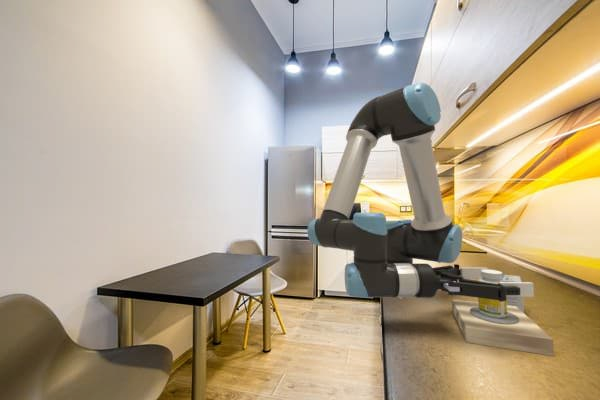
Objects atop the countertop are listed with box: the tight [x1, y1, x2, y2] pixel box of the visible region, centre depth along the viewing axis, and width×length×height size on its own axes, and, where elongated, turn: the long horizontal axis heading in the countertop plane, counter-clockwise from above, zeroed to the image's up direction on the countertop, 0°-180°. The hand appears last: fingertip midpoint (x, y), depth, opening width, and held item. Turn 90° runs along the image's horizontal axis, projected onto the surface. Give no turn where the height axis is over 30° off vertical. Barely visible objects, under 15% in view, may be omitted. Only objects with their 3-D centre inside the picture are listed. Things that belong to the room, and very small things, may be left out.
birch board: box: [451, 299, 555, 357], centre depth 61 cm, size 18×14×3 cm
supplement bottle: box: [477, 268, 507, 318], centre depth 61 cm, size 5×5×10 cm
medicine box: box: [501, 274, 525, 314], centre depth 72 cm, size 8×4×9 cm, turn 143°
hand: (507, 280), depth 61 cm, fingers open, 13 cm apart
